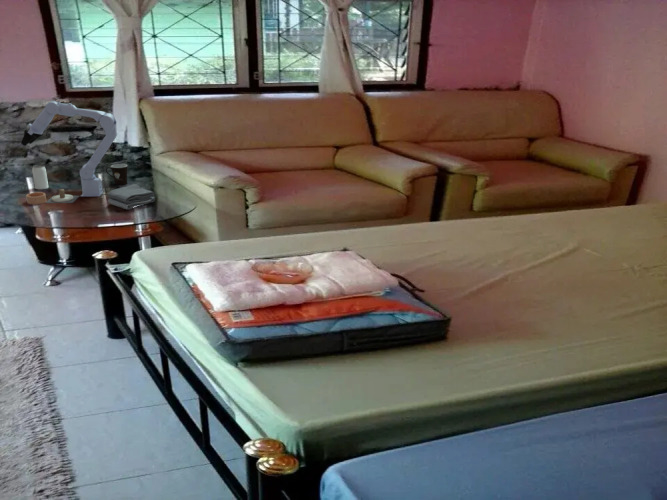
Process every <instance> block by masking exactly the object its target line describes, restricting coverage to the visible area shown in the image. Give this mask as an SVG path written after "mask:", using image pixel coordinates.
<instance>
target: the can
mask: <svg viewBox="0 0 667 500" xmlns="http://www.w3.org/2000/svg"><path fill="white" fill-rule="evenodd" d="M31 170H32V171H31V172H32V178H33V183H34V184H33V185H34V188H35V189H36V190H47V189H49V183H48V181H49V180H48V176H47V175H48V174H47V170H46V167H45V165H43V164H36V165H33V166H32V169H31Z"/></svg>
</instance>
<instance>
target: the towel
mask: <svg viewBox="0 0 667 500" xmlns="http://www.w3.org/2000/svg"><path fill="white" fill-rule="evenodd" d="M107 198H108V200H107V203H109V204H111V205H112V206H115V207H118V208H121V209H124V210H133V209H134V208H133V207H134V206H137V205H142V206H145V205H148V204H151V203H154V202H155V200H156V199H155V194H154V191H152V190H149V189H144V188H142V187H140V186H139V185H138V184H136V183H132V184H129V185H126V186H123V187H119V188H116V189H112V190H109V192H108V193H107ZM144 204H145V205H144ZM132 208H133V209H132Z"/></svg>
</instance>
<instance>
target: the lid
mask: <svg viewBox="0 0 667 500" xmlns="http://www.w3.org/2000/svg"><path fill="white" fill-rule="evenodd" d="M52 196H53V197H52ZM52 196H51V197H52V201H54V202H67V201H71V200H73V199H74V198H73V196H74V195H72V194H66V193H65V189H64V188H60V189H58V194H57V195H52Z"/></svg>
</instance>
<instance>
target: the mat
mask: <svg viewBox="0 0 667 500" xmlns="http://www.w3.org/2000/svg"><path fill="white" fill-rule="evenodd" d="M53 196H54V195H52V196H51V197H50V198H49V199H48V200H46V202H45V204H73V203H74V202H75V201H76V200H77V199H79V197H80V195H72V196H73V198H74V199H73V200H71V201H67V202H54V201H52V197H53Z"/></svg>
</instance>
